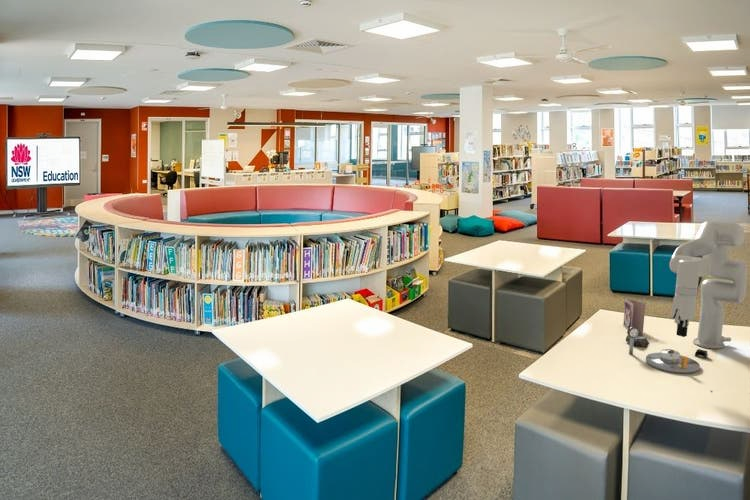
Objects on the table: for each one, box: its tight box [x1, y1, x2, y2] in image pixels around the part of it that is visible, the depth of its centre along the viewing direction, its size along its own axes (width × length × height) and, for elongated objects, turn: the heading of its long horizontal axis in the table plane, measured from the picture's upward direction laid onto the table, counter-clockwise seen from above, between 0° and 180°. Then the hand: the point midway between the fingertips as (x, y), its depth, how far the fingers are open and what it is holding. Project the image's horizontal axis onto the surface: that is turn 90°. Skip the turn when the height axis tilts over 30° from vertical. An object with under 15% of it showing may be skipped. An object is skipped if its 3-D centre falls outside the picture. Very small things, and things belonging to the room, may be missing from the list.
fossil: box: [625, 331, 650, 348], centre depth 256 cm, size 11×9×10 cm
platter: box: [645, 352, 701, 375], centre depth 230 cm, size 20×20×6 cm
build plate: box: [694, 348, 709, 360], centre depth 240 cm, size 12×7×5 cm, turn 45°
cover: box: [660, 348, 681, 364], centre depth 230 cm, size 7×7×5 cm
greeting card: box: [622, 297, 646, 333], centre depth 279 cm, size 11×7×15 cm, turn 174°
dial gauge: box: [626, 327, 647, 355], centre depth 242 cm, size 9×6×14 cm, turn 93°
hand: (681, 335), depth 217 cm, fingers closed
